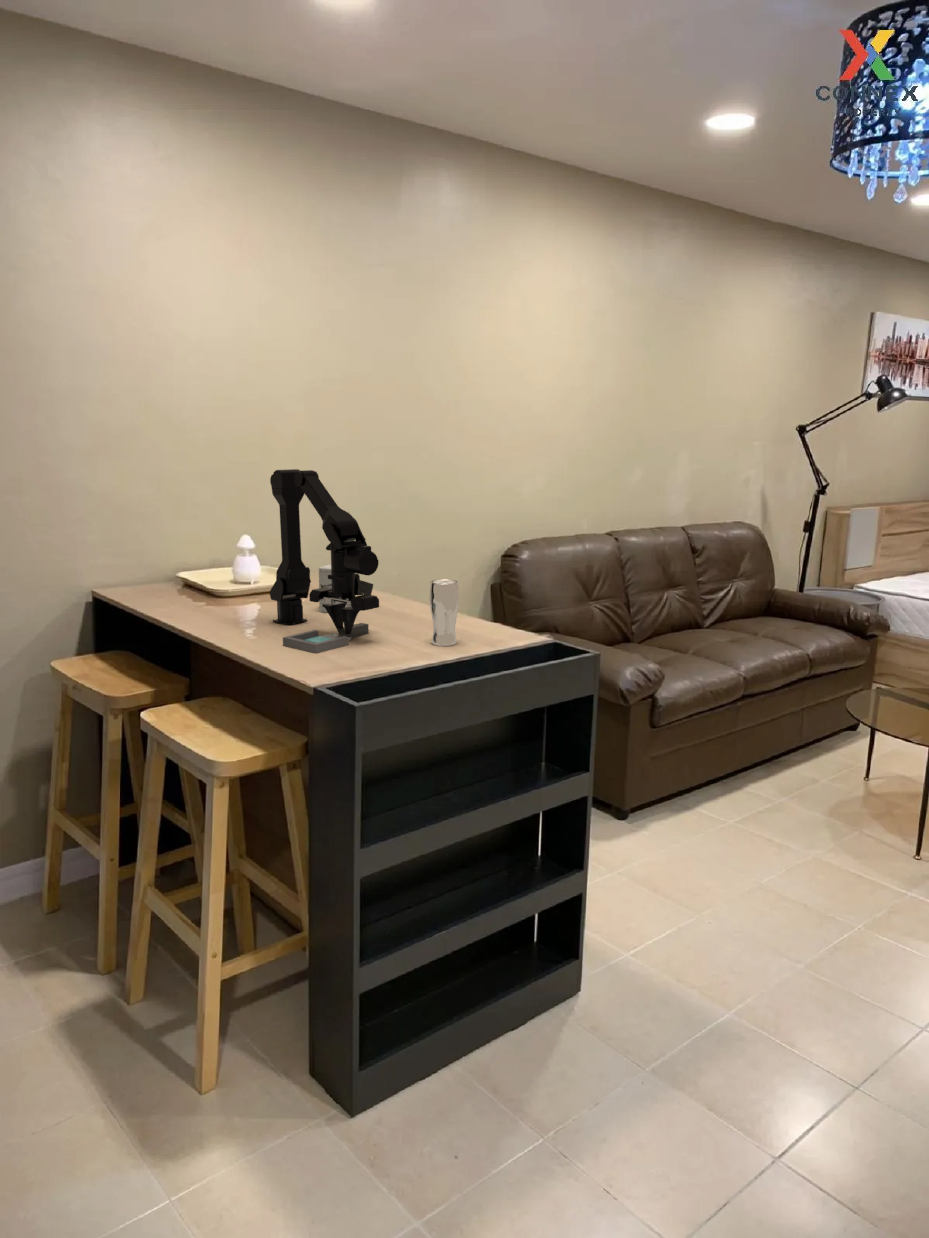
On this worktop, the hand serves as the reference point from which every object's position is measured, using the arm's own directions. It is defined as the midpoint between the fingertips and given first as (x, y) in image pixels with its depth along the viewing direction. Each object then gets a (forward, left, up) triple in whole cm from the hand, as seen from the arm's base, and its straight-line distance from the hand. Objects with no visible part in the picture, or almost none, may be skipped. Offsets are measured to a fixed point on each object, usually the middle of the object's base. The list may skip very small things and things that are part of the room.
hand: (344, 633), depth 220 cm
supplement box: (-25, +21, -1) cm, 33 cm away
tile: (0, -8, -2) cm, 9 cm away
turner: (0, +1, -1) cm, 1 cm away
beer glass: (+22, +11, -1) cm, 25 cm away
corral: (0, -9, -1) cm, 9 cm away
